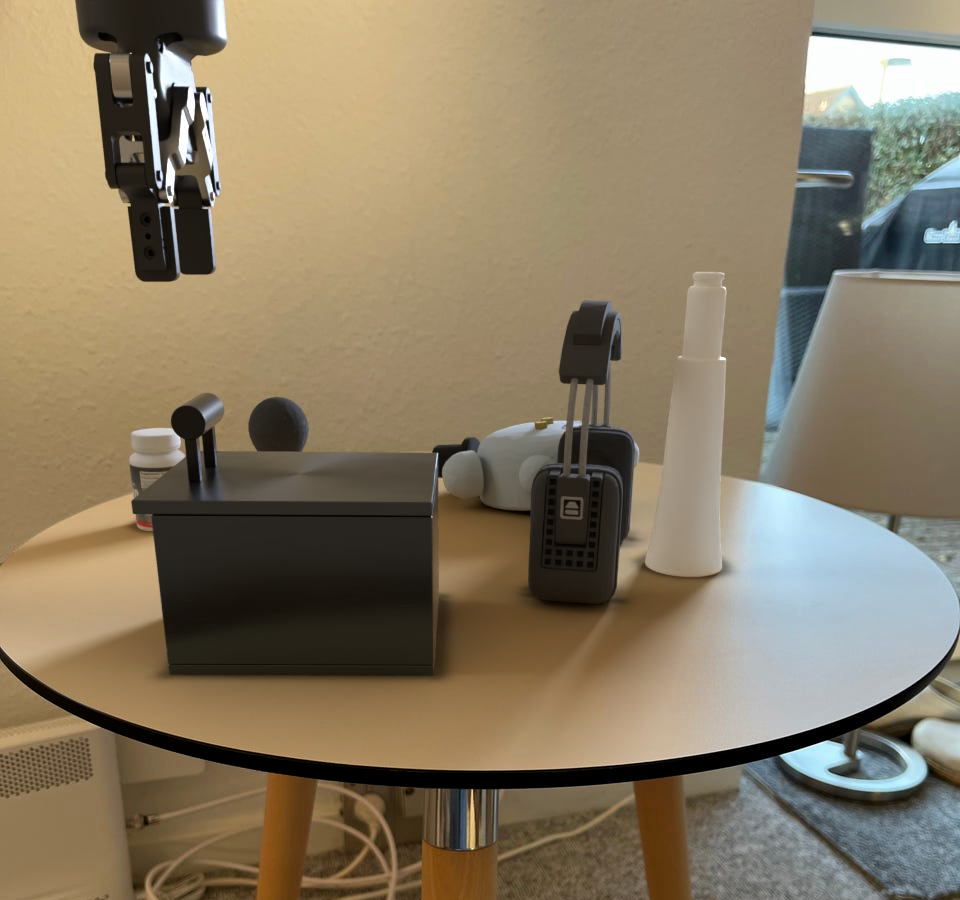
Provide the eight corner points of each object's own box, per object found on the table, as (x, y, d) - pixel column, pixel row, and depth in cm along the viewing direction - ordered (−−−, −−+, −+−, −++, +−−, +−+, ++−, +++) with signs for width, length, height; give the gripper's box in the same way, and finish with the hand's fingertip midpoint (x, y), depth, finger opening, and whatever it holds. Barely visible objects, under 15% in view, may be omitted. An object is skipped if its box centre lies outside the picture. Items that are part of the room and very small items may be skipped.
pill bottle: (142, 519, 92) (131, 426, 89) (196, 518, 93) (187, 426, 89) (132, 534, 88) (120, 437, 85) (188, 532, 88) (178, 436, 85)
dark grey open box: (169, 677, 60) (150, 515, 56) (220, 599, 73) (208, 463, 69) (433, 677, 60) (432, 517, 56) (439, 600, 73) (438, 464, 69)
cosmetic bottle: (718, 582, 77) (749, 274, 69) (639, 573, 79) (660, 273, 71) (725, 559, 83) (754, 271, 74) (650, 552, 84) (671, 270, 76)
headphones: (612, 617, 70) (631, 313, 62) (521, 610, 71) (529, 310, 64) (631, 531, 90) (647, 293, 83) (560, 526, 91) (569, 292, 84)
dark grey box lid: (132, 514, 56) (120, 418, 54) (193, 462, 69) (185, 382, 67) (432, 516, 56) (431, 420, 54) (438, 464, 69) (437, 384, 67)
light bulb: (253, 510, 96) (245, 402, 92) (253, 495, 101) (246, 393, 97) (314, 507, 97) (308, 400, 93) (310, 493, 102) (305, 391, 98)
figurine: (653, 486, 104) (473, 488, 111) (651, 402, 101) (465, 410, 108) (611, 529, 89) (405, 528, 96) (606, 431, 86) (394, 438, 93)
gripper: (115, -25, 59) (149, 273, 65) (14, -99, 46) (68, 284, 52) (245, -24, 59) (267, 273, 65) (182, -98, 46) (217, 284, 52)
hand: (179, 277), depth 58 cm, fingers open, 8 cm apart
